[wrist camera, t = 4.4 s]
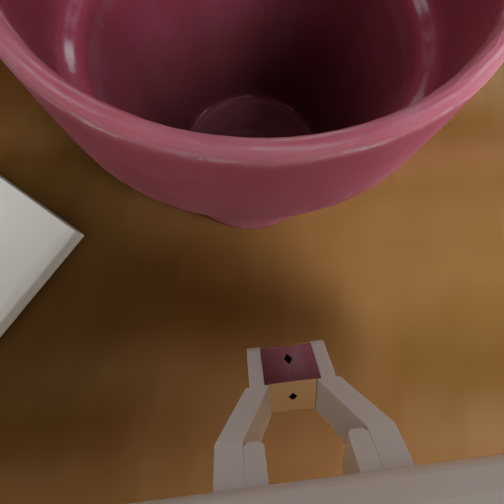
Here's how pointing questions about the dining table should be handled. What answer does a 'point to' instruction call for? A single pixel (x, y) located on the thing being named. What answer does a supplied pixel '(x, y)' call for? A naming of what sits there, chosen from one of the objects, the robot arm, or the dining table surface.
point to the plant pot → (252, 91)
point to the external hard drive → (28, 249)
